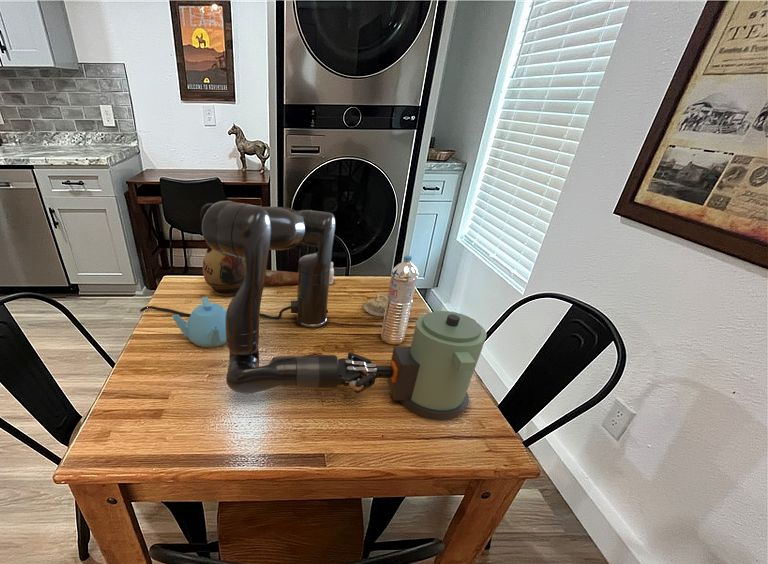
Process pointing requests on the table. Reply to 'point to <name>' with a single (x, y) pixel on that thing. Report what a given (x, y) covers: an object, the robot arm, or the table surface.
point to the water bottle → (399, 302)
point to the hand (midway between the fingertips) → (392, 371)
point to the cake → (376, 305)
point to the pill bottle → (331, 273)
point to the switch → (394, 371)
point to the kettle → (438, 365)
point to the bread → (280, 278)
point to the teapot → (205, 324)
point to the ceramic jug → (222, 268)
